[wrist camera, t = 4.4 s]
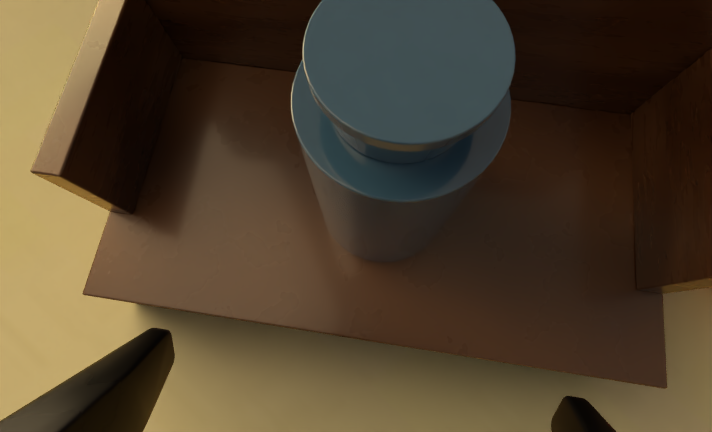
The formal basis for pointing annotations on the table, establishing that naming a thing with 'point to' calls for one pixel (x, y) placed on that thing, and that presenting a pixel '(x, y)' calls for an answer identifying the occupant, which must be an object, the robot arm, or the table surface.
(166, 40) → the shelf
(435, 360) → the table surface
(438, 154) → the vase
